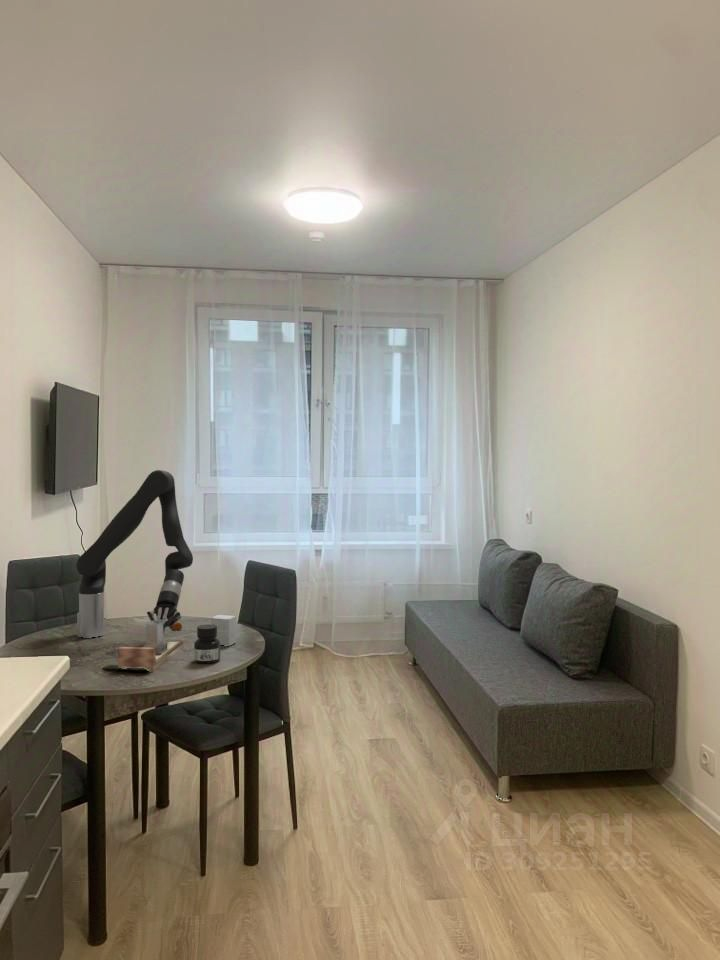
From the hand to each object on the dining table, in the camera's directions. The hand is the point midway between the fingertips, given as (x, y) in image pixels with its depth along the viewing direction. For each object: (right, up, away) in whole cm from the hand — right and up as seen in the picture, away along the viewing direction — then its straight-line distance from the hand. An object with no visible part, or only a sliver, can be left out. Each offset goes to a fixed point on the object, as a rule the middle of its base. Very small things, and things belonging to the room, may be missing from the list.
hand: (158, 635), depth 258 cm
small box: (+21, -6, +14) cm, 26 cm away
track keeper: (0, -5, -3) cm, 6 cm away
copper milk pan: (0, -7, -5) cm, 8 cm away
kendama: (-6, -5, +43) cm, 44 cm away
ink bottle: (+19, -7, -8) cm, 22 cm away
